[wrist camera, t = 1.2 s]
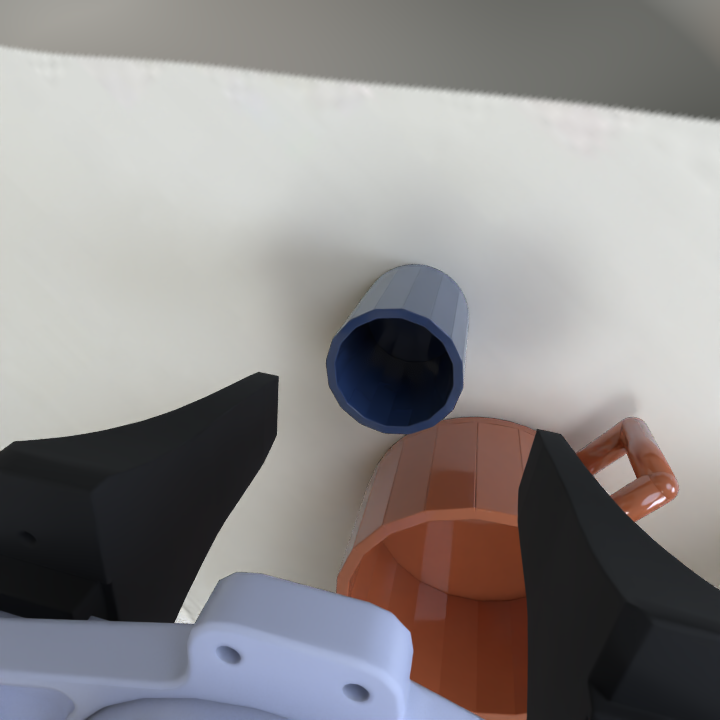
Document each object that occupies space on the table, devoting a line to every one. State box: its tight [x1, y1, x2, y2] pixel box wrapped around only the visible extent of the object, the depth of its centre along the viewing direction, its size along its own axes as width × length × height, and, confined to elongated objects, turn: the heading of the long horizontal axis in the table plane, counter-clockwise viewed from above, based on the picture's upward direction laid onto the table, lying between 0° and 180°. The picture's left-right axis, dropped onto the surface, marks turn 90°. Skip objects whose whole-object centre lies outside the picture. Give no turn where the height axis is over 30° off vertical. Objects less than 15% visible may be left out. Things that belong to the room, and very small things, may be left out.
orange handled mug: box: [336, 417, 679, 720], centre depth 24 cm, size 16×12×7 cm
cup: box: [326, 264, 469, 434], centre depth 21 cm, size 5×5×6 cm
